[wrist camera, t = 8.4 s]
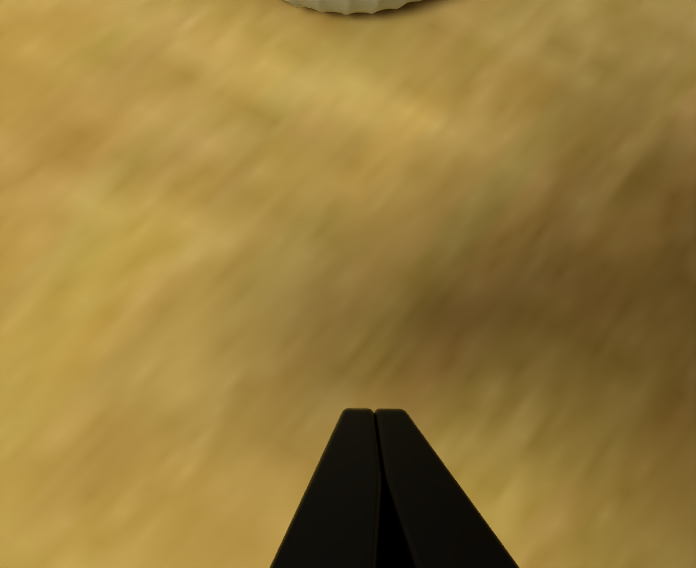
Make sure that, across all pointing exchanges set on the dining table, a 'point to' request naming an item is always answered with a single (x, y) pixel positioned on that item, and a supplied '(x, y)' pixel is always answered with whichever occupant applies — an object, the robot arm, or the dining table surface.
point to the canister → (350, 5)
